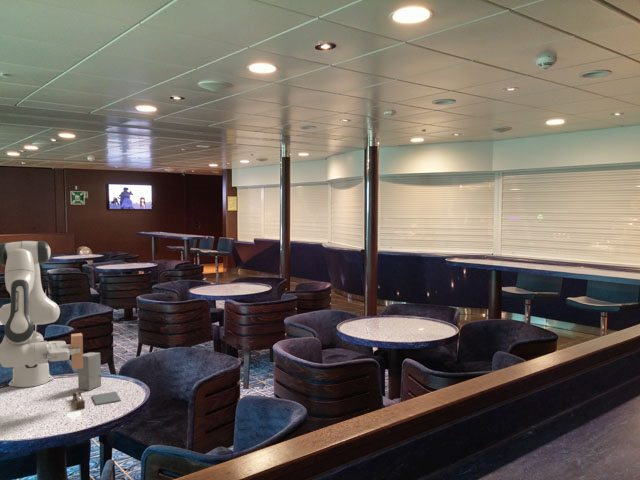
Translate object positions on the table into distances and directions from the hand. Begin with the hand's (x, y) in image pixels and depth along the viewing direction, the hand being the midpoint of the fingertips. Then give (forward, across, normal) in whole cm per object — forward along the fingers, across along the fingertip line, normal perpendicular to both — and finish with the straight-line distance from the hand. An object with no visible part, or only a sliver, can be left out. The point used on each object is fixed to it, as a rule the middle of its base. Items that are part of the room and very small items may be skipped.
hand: (79, 348), depth 220 cm
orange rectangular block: (-1, 0, +8) cm, 8 cm away
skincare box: (+6, +20, +24) cm, 32 cm away
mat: (+10, 0, +24) cm, 26 cm away
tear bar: (-1, 0, +24) cm, 24 cm away
